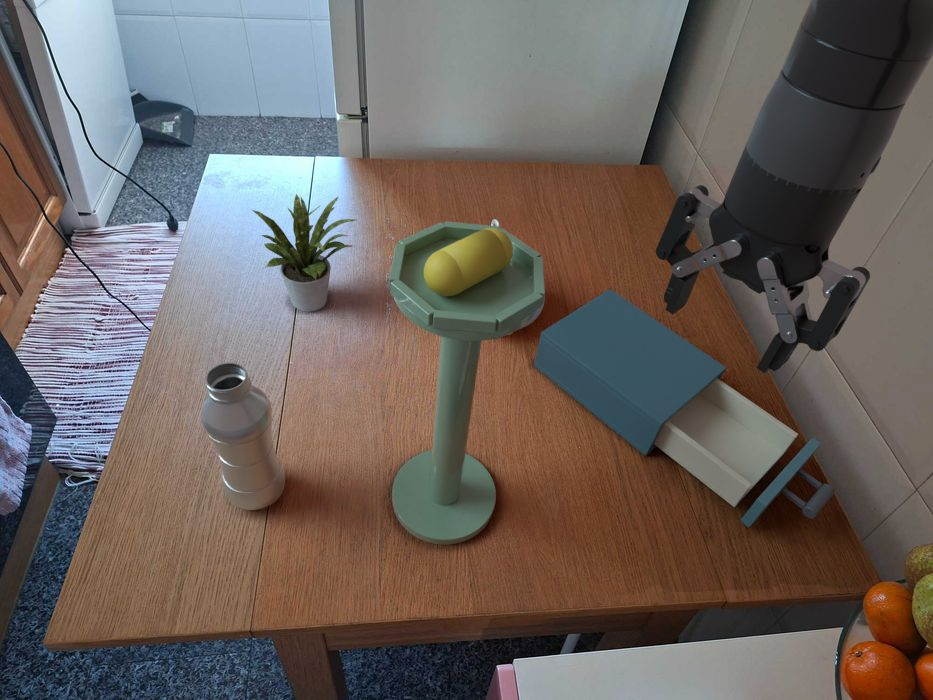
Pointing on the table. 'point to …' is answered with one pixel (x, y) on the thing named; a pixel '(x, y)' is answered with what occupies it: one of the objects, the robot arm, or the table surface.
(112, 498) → the table surface
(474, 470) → the cake stand
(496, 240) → the yellow rounded capsule
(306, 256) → the house plant
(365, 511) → the table surface
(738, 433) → the drawer
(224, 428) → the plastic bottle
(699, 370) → the cabinet
